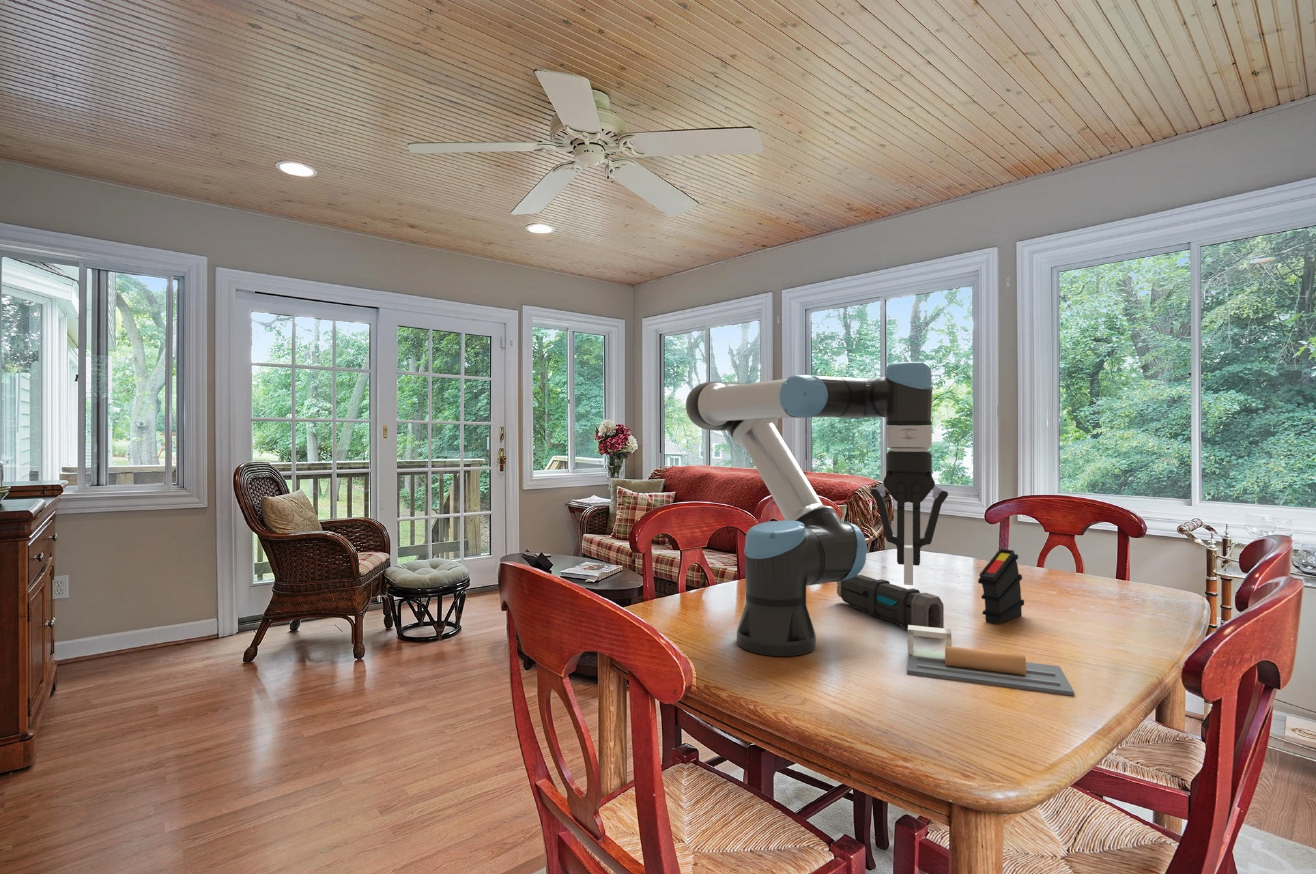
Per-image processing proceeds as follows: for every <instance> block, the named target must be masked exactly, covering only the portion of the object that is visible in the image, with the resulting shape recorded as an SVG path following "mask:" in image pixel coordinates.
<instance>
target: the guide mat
mask: <svg viewBox="0 0 1316 874" xmlns="http://www.w3.org/2000/svg"><path fill="white" fill-rule="evenodd" d="M906 672H907V675H914V676H922V677H928V678H937V679H943V680H949V681H950V680H951V681H959V682H960V681H961V682H967V683H974V684H981V685H990V686H998V687H1005V688H1012V689H1021V690H1028V691H1033V692H1042V693H1050V694H1057V695H1065V696H1066V695H1067V696H1073V697H1074V696H1075V691H1074V689H1073V687H1072V685H1071V684H1070V681H1069V680H1068V678H1067V677H1066V675H1065V673H1064V672H1063V670H1062V668H1061V666H1060V665H1055V664H1054V665H1053V664H1046V663H1045V664H1043V663H1037V662H1029V661H1026V675H1020V674H1012V673H1003V672H995V671H987V670H979V669H971V668H963V667H955V666H947V665H945V652H942V651H933V650H925V649H916V648H914V652H913V655H911V654H908V659H907V670H906Z"/></svg>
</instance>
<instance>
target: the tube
mask: <svg viewBox="0 0 1316 874" xmlns="http://www.w3.org/2000/svg"><path fill="white" fill-rule="evenodd" d="M836 584H837V586H836V593H837V596H838V597H840V599H841V600H842V601H843V602H844V603H846V604H847V605H849V606H850V607H852V608H855V609H857V610H859V611H862V612H865V613H867V614H870V615H871V617H874V618H877V619H884V620H886V621H889V622H890V623H894V624H896V625H899V626H901V627H902V628H903V629H905V630H907V631H908V625H914V626H924V627H934V628H943V629H945V628H944V626H945V625H944V619H945V618H944V615H945V614H944V611H945V610H944V609H945V608H944V603H943V601H942V600H941V597H940V596H938V595H934V594H932V593H928V592H921V591H920V590H919V589H916V588H906V587H903V586H900V585H899V586H898V585H895V584H892V583H891V582H890V581H888V580H886V579H875V578H872V577H870V576H865V575H863V574H858V575H856V576H855V577H853V578H850V579H846V580H844V581H841V582H836Z"/></svg>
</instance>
